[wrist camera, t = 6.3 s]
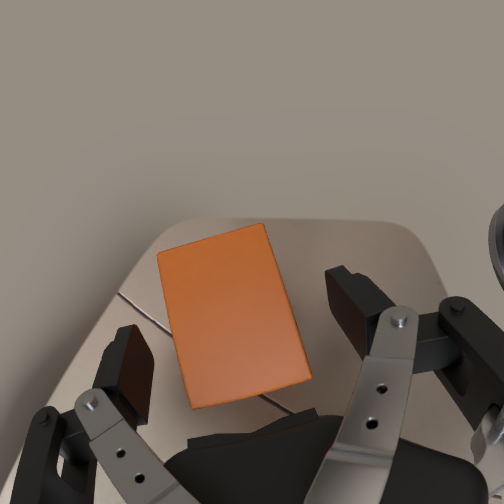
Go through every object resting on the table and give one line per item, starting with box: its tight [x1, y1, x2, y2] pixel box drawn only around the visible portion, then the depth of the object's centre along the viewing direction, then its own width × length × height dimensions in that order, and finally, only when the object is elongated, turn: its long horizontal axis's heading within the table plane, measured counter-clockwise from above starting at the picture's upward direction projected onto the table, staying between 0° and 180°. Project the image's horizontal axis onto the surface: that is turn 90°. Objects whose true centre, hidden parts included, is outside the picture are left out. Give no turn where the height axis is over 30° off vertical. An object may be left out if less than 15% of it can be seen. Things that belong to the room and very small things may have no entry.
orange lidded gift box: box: [157, 223, 313, 410], centre depth 15 cm, size 4×6×11 cm
